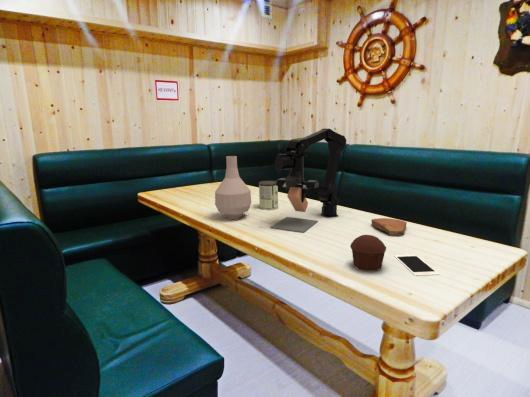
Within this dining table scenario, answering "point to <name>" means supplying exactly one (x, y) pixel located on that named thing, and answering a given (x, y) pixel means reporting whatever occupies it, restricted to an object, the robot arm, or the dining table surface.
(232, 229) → the dining table surface
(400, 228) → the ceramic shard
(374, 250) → the muffin
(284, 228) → the charcoal mat
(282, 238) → the dining table surface
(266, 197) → the coffee can
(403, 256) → the cell phone
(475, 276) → the dining table surface
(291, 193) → the terracotta block
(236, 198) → the vase
